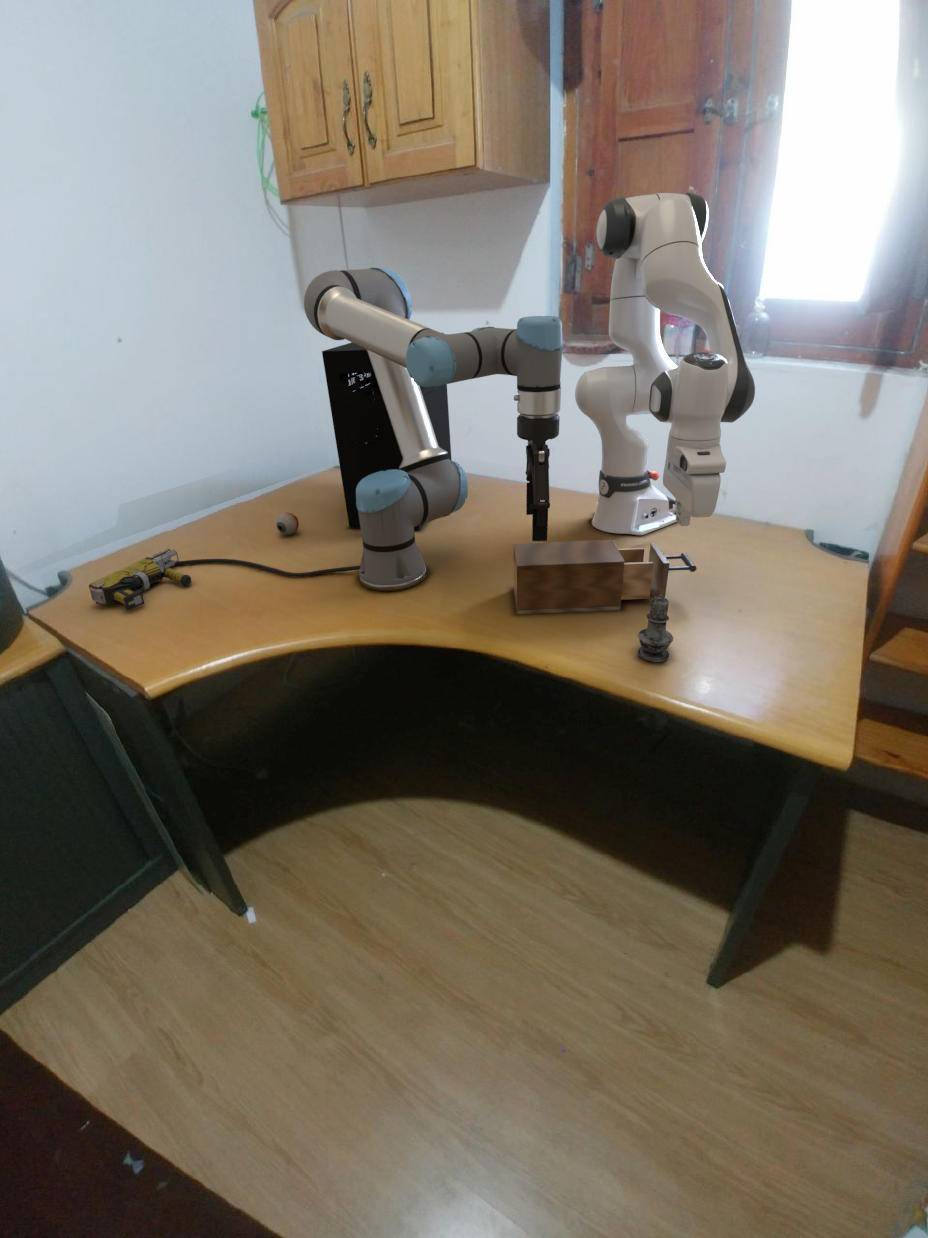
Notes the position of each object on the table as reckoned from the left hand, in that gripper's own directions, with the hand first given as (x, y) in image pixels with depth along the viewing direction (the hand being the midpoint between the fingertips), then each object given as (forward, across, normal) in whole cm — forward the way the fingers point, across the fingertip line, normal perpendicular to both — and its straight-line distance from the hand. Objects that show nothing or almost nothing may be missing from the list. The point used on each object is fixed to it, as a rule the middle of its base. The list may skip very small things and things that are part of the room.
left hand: (536, 526), depth 117 cm
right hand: (0, 0, +28) cm, 28 cm away
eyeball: (+17, -43, -63) cm, 78 cm away
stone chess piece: (+16, +22, +19) cm, 33 cm away
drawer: (+15, 0, +19) cm, 24 cm away
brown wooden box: (+16, 0, +6) cm, 17 cm away
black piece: (+17, -62, -33) cm, 72 cm away
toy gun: (+17, -14, -86) cm, 89 cm away
